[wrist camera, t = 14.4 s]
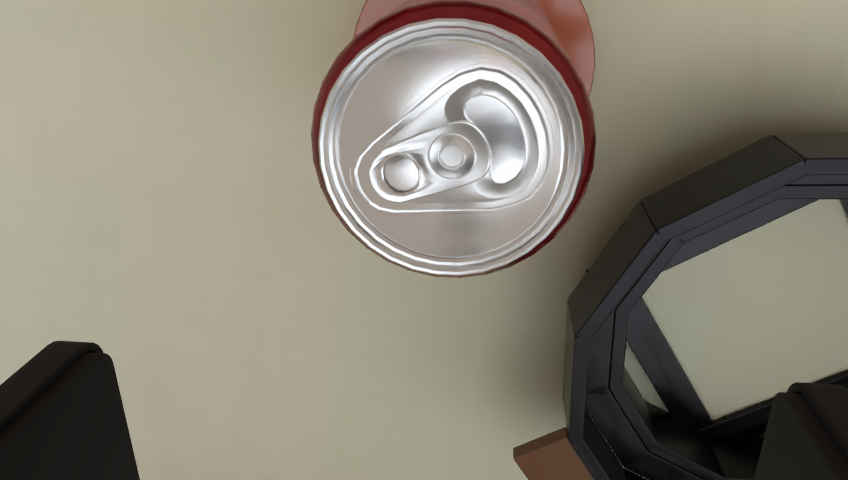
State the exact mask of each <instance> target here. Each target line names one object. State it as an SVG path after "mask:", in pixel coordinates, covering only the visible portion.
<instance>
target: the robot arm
mask: <svg viewBox="0 0 848 480" xmlns="http://www.w3.org/2000/svg"><path fill="white" fill-rule="evenodd" d="M0 480H140V479H139V474H138V470H137V466H136V461H135V457H134V452H133V448H132V444H131V439H130V435H129V430H128V426H127V422H126V417H125V413H124V408H123V404H122V400H121V395H120V391H119V387H118V382H117V378H116V373H115V369H114V365H113V361H112V359H111V357H110V356H109V355H108V354H105V353H103V351H102V349H101V348H100V347H99V345H97V344H95V343H88V342H70V341H55V342H52V343H51V344H49V345H47V346H46V347H45V348H44V349H43V350H42V351H40V352H39V353H38V354H37V355H36V356H34V357H33V358H32V359H31V360H30V361H29V362H27V363H26V364H25V365H24V366H23V367H21V368H20V369H19V370H18V371H17V372H15V373H14V374H13V375H12V376H11V377H10V378H8V379H7V380H6V381H5V382H4V383H2V384H1V385H0ZM754 480H848V389H847V388H846V387H844V386H841V385H833V384H815V383H797V382H796V383H794V384H792V385H791V386H790V387H789V389H788V391H787V393H778V394H777V395H776V396H775V397H774V400H773V403H772V407H771V411H770V415H769V419H768V424H767V428H766V432H765V436H764V440H763V444H762V448H761V452H760V457H759V461H758V465H757V469H756V473H755V477H754Z"/></svg>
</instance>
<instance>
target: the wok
mask: <svg viewBox="0 0 848 480" xmlns="http://www.w3.org/2000/svg"><path fill="white" fill-rule="evenodd" d="M819 199H840V200H841V202H842V204H843V207H844V209H845V211H846V214H847V216H848V133H831V134H773V135H772V136H771V135H769V136H767V137H765V138H763V139H761V140H759V141H757V142H755V143H753V144H751V145H749V146H747V147H745V148H743V149H741V150H739V151H737V152H735V153H733V154H731V155H729V156H727V157H725V158H723V159H721V160H719V161H717V162H715V163H713V164H711V165H709V166H707V167H705V168H703V169H701V170H699V171H697V172H695V173H693V174H691V175H689V176H687V177H685V178H683V179H681V180H679V181H677V182H675V183H673V184H671V185H669V186H667V187H665V188H663V189H661V190H659V191H657V192H655V193H653V194H651V195H649V196H647V197H645V198H643V199H641V202H638V204H637V205H636V206H635V208H634V209H633V211H632V212H631V213H630V215H629V216H628V217H627V219H626V220H625V221H624V223H623V224H622V226H621V227H620V228H619V230H618V231H617V232H616V234H615V235H614V236H613V238H612V239H611V241H610V242H609V243H608V245H607V246H606V247H605V249H604V250H603V251H602V253H601V254H600V256H599V257H598V258H597V260H596V261H595V262H594V264H593V265H592V267H591V268H590V269H588V270H586V272H587V273H586V275H585V276H584V277H583V279H582V280H581V282H580V283H579V284H578V286H577V287H576V288H575V290H574V291H573V292H572V294H571V295H570V297H569V299H568V303H567V323H566V342H565V361H564V380H563V402H564V410H565V417H566V425H567V428H566V427H564V428H562V429H559V430H557V431H554V432H552V433H549V434H547V435H544V436H542V437H539V438H537V439H535V440H532V441H530V442H527V443H525V444H522V445H520V446H517V447H515V448H513V458H514V460H515V462H516V463H517V465H518V466H519V467H520V469H521V470H522V471H523V473H524V474H525V476H526V477H527V478H528V480H647V479H648V480H754V477H755V473H756V469H757V465H758V461H759V457H760V452H761V448H762V444H763V440H764V436H765V435H761V434H763V433H765V432H766V428H767V424H768V419H769V415H770V411H771V407H772V403H773V400H774V398H773V399H771V400H768V401H765V402H763V403H760V404H757V405H755V406H752V407H749V408H747V409H744V410H742V411H739V412H736V413H734V414H731V415H728V416H726V417H723V418H720V419H718V420H715V421H712V420H711V418H710V416H709V414H708V413H707V411H706V409H705V407H704V406H703V404H702V402H701V400H700V399H699V397H698V395H697V393H696V392H695V390H694V388H693V386H692V385H691V383H690V381H689V379H688V378H687V376H686V374H685V372H684V371H683V369H682V367H681V365H680V364H679V362H678V360H677V358H676V357H675V355H674V353H673V351H672V350H671V348H670V346H669V344H668V343H667V341H666V339H665V337H664V336H663V334H662V332H661V330H660V329H659V327H658V325H657V323H656V322H655V320H654V318H653V316H652V315H651V313H650V311H649V309H648V308H647V306H646V304H645V302H644V301H643V299H642V296H643V294H644V293H645V292H646V290H647V289H648V288H649V287H650V285H651V284H652V283H653V282H654V280H655V279H656V278H657V277H658V275H659V274H660V273H661V272H662V271H665V270H667V269H669V268H671V267H673V266H675V265H678V264H680V263H682V262H684V261H686V260H689V259H691V258H693V257H695V256H697V255H699V254H702V253H704V252H706V251H708V250H710V249H712V248H715V247H717V246H719V245H721V244H723V243H725V242H728V241H730V240H732V239H734V238H736V237H739V236H741V235H743V234H745V233H747V232H749V231H752V230H754V229H756V228H758V227H760V226H762V225H765V224H767V223H769V222H771V221H773V220H775V219H778V218H780V217H782V216H784V215H786V214H789V213H791V212H793V211H795V210H797V209H799V208H802V207H804V206H806V205H808V204H810V203H812V202H815V201H817V200H819ZM626 340H627V342H628V343H629V345H630V347H631V348H632V350H633V352H634V353H635V355H636V357H637V359H638V360H639V362H640V364H641V365H642V367H643V369H644V370H645V372H646V374H647V375H648V377H649V379H650V380H651V382H652V384H653V385H654V387H655V389H656V390H657V392H658V394H659V396H660V397H661V399H662V401H663V402H664V404H665V406H666V407H667V409H668V411H669V412H670V414H669V413H667V412H665V411H663V410H662V409H660V408H658V407H656V406H654V405H652V404H650V403H648V402H646V401H645V400H644V399H643V397H642V395H641V394H640V392H639V391H638V389H637V387H636V386H635V384H634V382H633V381H632V379H631V377H630V376H629V374H628V372H627V371H626V369H625V367H624V359H625V349H626ZM815 384H833V385H841V386H844V387H846V388H847V389H848V371H845V372H842V373H840V374H837V375H834V376H832V377H829V378H826V379H824V380H821V381H819V382H816V383H815ZM585 408H586V409H585ZM586 410H587V411H586ZM588 413H589V414H588ZM590 416H591V417H590ZM591 418H592V419H593V420H592V419H591ZM593 421H594V422H595V423H594V422H593ZM595 424H596V425H597V426H596V425H595ZM597 427H598V428H597ZM599 430H600V431H599ZM601 433H602V434H601ZM602 435H603V436H604V437H603V436H602ZM604 438H605V439H606V440H605V439H604ZM606 441H607V442H608V443H607V442H606ZM608 444H609V445H608ZM610 447H611V448H610ZM612 450H613V451H612ZM613 452H614V453H615V454H614V453H613ZM615 455H616V456H617V457H616V456H615ZM617 458H618V459H619V460H618V459H617ZM619 461H620V462H619ZM621 464H622V465H621ZM623 467H624V468H623ZM625 468H626V469H625ZM627 469H628V470H627ZM629 470H630V471H629ZM631 471H632V472H631ZM633 472H634V473H633ZM635 473H636V474H635ZM637 474H638V475H637ZM639 475H640V476H639ZM641 476H642V477H641ZM643 477H644V478H643ZM645 478H646V479H645Z"/></svg>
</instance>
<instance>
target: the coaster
mask: <svg viewBox="0 0 848 480" xmlns="http://www.w3.org/2000/svg"><path fill="white" fill-rule="evenodd" d="M406 1H408V0H367V1H366V3H365V5H364V7H363V9H362V11H361V14H360V17H359V19H358V22H357V25H356V29H355V33H354V37H355V36H356V35H358V34H359V33H361V32H362V31H363V30H365V29H366V28H368V27H369V26H370V25H372V24H373V23H374V22H376V21H377V20H379V19H380V18H382V17H383V16H385V15H386V14H388V13H389V12H391V11H392V10H394V9H395V8H397V7H398V6H400V5H401V4H403V3H405V2H406ZM533 1H534V2H535V3H536V5H537V6H538V7H539V8H540V9H541V10H542V11H543V12H544V14H545V15H546V17H547V19H548V21H549V22H550V24H551V26H552V28H553V29H554V31H555V33H556V35H557V37H558V38H559V40H560V42H561V44H562V45H563V47H564V49H565V51H566V53H567V54H568V56H569V58H570V60H571V62H572V63H573V65H574V67H575V69H576V71H577V72H578V74H579V76H580V78H581V80H582V81H583V83H584V85H585V88H586V91H587V94H588V97H589V95H590V91H591V87H592V83H593V76H594V68H595V49H594V42H593V35H592V30H591V27H590V23H589V19H588V16H587V14H586V12H585V9H584V7H583V5H582V2H581V0H533ZM353 39H354V38H353Z"/></svg>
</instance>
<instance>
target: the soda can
mask: <svg viewBox="0 0 848 480" xmlns="http://www.w3.org/2000/svg"><path fill="white" fill-rule="evenodd" d="M311 141H312V153H313V162H314V165H315V169H316V172H317V176H318V180H319V183H320V186H321V189H322V191H323V193H324V195H325V197H326V199H327V201H328V203H329V205H330V207H331V209H332V210H333V212H334V213H335V214H336V216H337V217H338V218H339V220H340V221H341V222H342V224H343V225H344V226H345V228H346V229H347V230H348V231H349V232H350V233H351V234H352V235H353V236H354V237H355V238H356V239H357V240H358V241H360V242H361V243H362V244H363V245H364V246H365V247H366V248H368V249H369V250H371V251H372V252H374V253H375V254H377V255H379V256H380V257H382V258H383V259H385V260H386V261H388V262H391V263H393V264H395V265H398V266H400V267H403V268H405V269H407V270H410V271H413V272H418V273H422V274H427V275H431V276H436V277H458V278H462V277H470V276H478V275H485V274H489V273H492V272H495V271H498V270H502V269H505V268H508V267H511V266H513V265H515V264H517V263H518V262H520V261H522V260H524V259H526V258H528V257H530V256H532V255H533V254H535V253H536V252H537V251H538V250H540V249H541V248H542V247H543V246H545V245H546V244H547V243H548V242H550V241H551V240H552V239H553V238H555V236H556V235H557V234H558V233H559V232H560V231H561V229H562V228H563V227H564V226H565V225H566V224H567V222H568V221H569V220H570V219H571V218H572V216H573V214H574V213H575V211H576V209H577V207H578V206H579V204H580V202H581V200H582V198H583V197H584V195H585V192H586V189H587V186H588V183H589V180H590V177H591V174H592V171H593V166H594V157H595V147H596V133H595V124H594V114H593V110H592V107H591V104H590V100H589V97H588V94H587V91H586V88H585V85H584V83H583V81H582V80H581V78H580V76H579V74H578V72H577V71H576V69H575V67H574V65H573V63H572V62H571V60H570V58H569V56H568V54H567V53H566V51H565V49H564V47H563V45H562V44H561V42H560V40H559V38H558V37H557V35H556V33H555V31H554V29H553V28H552V26H551V24H550V22H549V21H548V19H547V17H546V15H545V14H544V12H543V11H542V10H541V9H540V8H539V7H538V6H537V5H536V3H535V2H534V1H533V0H408V1H406V2H405V3H403V4H401V5H400V6H398V7H397V8H395V9H394V10H392V11H391V12H389V13H388V14H386V15H385V16H383V17H382V18H380V19H379V20H377V21H376V22H374V23H373V24H372V25H370V26H369V27H368V28H366V29H365V30H363V31H362V32H361V33H359V34H358V35H356V36H355V37H354V39H353V40H352V41H351V42H350V43H349V44H348V45H347V46H346V47H345V49H344V50H343V51H342V52H341V53H340V54H339V55H338V56H337V58H336V59H335V61H334V63H333V64H332V66H331V68H330V70H329V71H328V73H327V75H326V76H325V78H324V80H323V82H322V85H321V88H320V91H319V94H318V97H317V100H316V103H315V106H314V112H313V121H312V129H311Z"/></svg>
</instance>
